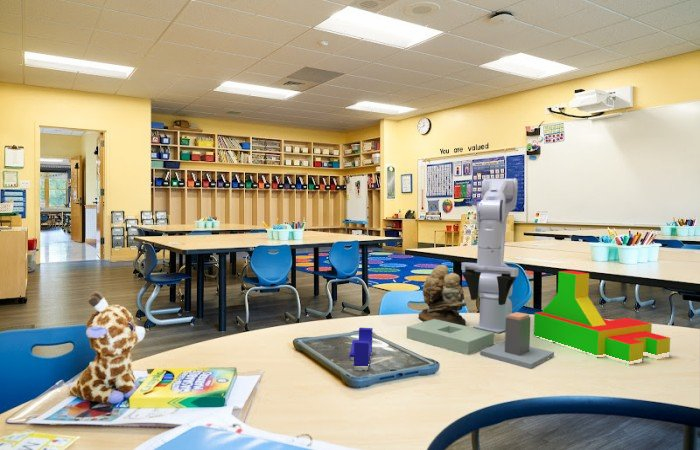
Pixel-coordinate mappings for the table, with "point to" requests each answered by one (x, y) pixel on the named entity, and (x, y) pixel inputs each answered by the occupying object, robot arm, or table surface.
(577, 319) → the building blocks toy
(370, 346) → the blue stepped block
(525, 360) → the mat
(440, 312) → the owl figurine
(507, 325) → the plug
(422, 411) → the table surface
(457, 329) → the socket block
